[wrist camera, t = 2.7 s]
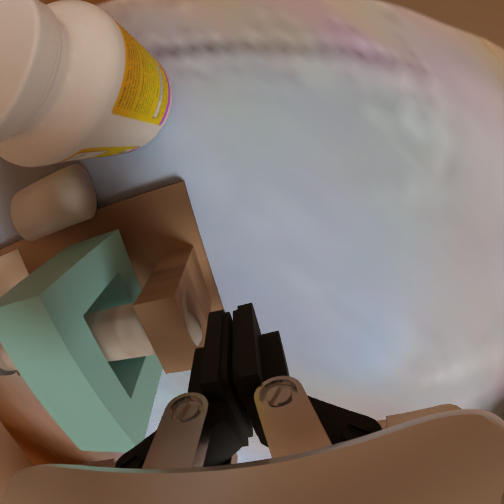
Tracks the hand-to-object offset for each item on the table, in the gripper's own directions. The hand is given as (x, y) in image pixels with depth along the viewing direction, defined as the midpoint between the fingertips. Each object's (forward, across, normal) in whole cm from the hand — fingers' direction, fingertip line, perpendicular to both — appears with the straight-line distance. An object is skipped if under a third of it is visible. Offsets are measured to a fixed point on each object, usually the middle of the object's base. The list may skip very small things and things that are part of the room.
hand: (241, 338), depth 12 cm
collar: (+7, +8, 0) cm, 11 cm away
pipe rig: (+9, +14, 0) cm, 16 cm away
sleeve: (+8, +10, -8) cm, 16 cm away
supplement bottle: (+9, +4, -12) cm, 16 cm away
